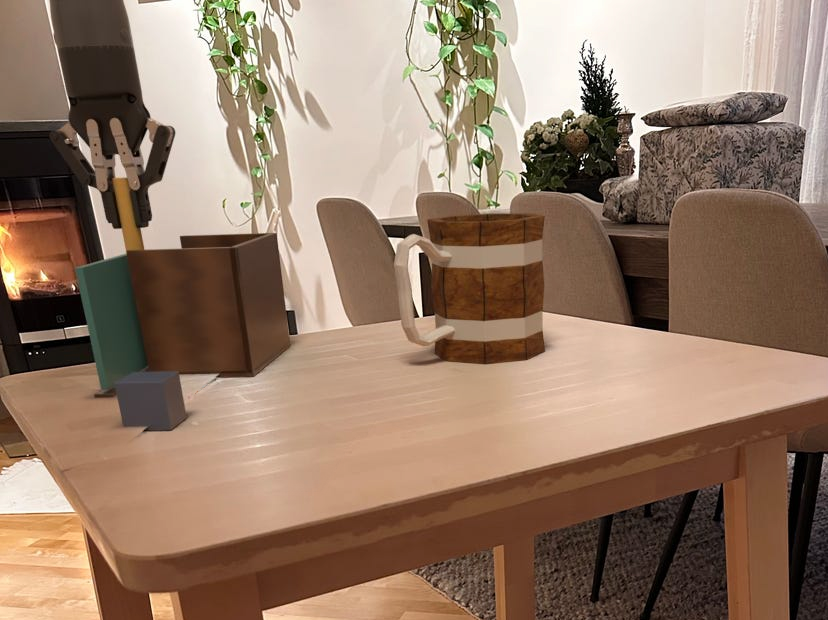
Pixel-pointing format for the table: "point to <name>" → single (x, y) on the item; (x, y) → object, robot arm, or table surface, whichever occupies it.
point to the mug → (479, 287)
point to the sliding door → (114, 302)
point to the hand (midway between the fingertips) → (130, 227)
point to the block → (151, 400)
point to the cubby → (210, 305)
